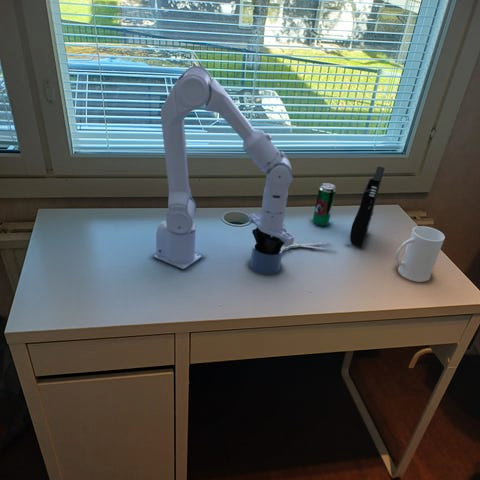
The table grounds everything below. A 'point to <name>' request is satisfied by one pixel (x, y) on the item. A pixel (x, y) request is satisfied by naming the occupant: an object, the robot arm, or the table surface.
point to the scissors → (303, 245)
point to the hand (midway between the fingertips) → (266, 258)
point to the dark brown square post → (264, 248)
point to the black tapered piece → (366, 209)
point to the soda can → (324, 204)
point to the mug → (420, 253)
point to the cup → (265, 261)
